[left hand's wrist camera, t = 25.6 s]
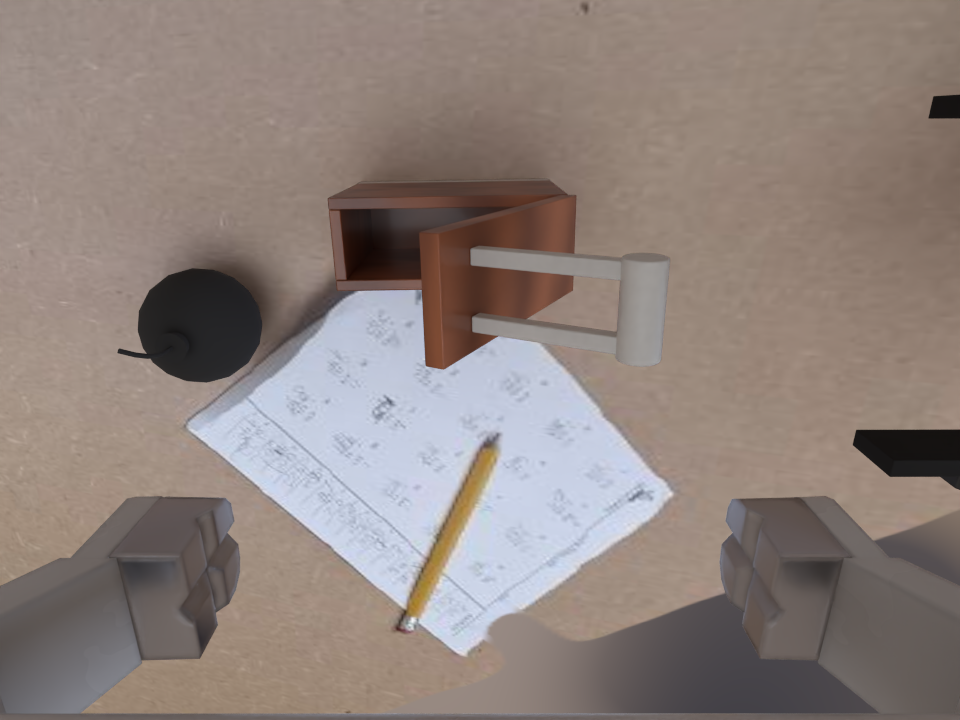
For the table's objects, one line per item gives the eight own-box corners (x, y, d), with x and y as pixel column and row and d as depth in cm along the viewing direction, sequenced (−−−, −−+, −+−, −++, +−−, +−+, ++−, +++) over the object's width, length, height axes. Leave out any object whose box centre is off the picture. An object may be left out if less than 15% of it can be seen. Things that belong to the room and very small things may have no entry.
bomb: (294, 296, 47) (236, 349, 36) (246, 377, 50) (178, 451, 38) (199, 237, 46) (108, 273, 34) (154, 323, 48) (54, 384, 37)
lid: (425, 366, 25) (639, 408, 21) (418, 231, 23) (651, 249, 19) (558, 289, 36) (714, 306, 32) (561, 194, 34) (726, 201, 30)
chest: (366, 256, 46) (336, 291, 37) (360, 181, 45) (327, 197, 35) (547, 253, 46) (565, 287, 37) (548, 178, 44) (568, 193, 35)
